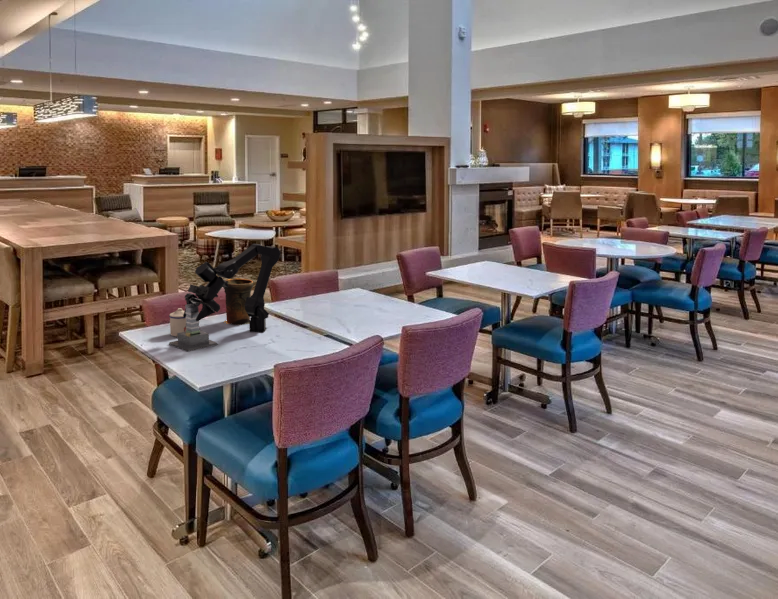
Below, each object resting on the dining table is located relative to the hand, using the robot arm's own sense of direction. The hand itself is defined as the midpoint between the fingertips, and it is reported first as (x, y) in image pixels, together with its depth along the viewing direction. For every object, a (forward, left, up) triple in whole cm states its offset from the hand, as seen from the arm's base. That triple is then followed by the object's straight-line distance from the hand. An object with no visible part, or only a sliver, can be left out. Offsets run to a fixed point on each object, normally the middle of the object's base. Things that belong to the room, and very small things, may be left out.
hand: (190, 318), depth 258 cm
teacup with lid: (+10, -18, -12) cm, 24 cm away
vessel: (-9, -42, -12) cm, 44 cm away
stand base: (-1, -1, -11) cm, 11 cm away
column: (-1, -1, -6) cm, 6 cm away
